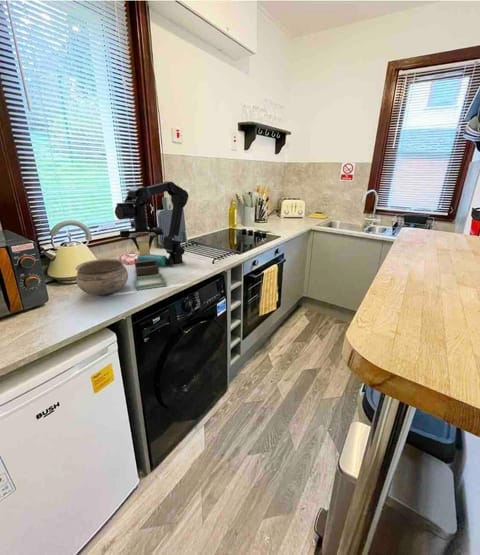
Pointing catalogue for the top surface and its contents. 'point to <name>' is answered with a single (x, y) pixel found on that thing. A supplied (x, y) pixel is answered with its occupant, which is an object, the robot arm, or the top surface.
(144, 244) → the tape roll
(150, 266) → the tape holder
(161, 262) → the beverage bottle
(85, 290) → the brown bowl
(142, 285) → the tray
